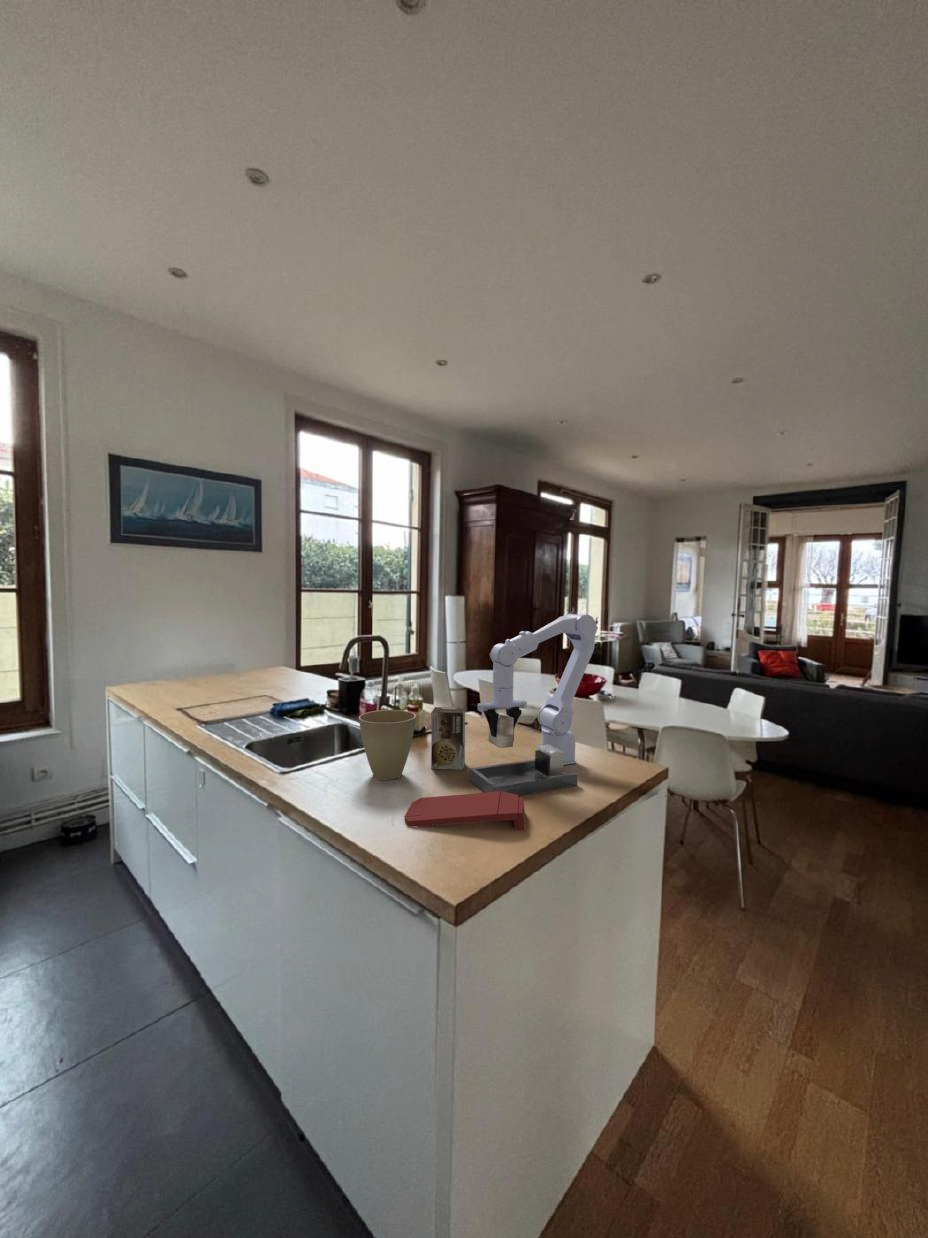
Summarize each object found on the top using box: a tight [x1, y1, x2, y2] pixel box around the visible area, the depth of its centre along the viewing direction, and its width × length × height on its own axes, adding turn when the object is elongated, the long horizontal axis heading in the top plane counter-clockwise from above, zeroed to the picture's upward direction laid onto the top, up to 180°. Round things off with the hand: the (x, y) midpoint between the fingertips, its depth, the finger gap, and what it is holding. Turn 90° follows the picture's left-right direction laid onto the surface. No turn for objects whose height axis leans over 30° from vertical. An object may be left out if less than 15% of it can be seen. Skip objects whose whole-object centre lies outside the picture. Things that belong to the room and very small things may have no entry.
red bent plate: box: [403, 791, 526, 831], centre depth 109 cm, size 12×5×25 cm
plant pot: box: [358, 709, 417, 781], centre depth 133 cm, size 15×15×16 cm
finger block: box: [488, 712, 515, 749], centre depth 141 cm, size 5×7×8 cm, turn 24°
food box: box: [430, 706, 466, 771], centre depth 141 cm, size 9×6×16 cm
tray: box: [468, 744, 579, 796], centre depth 130 cm, size 24×14×8 cm, turn 114°
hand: (501, 735), depth 140 cm, fingers closed on finger block, 5 cm apart
